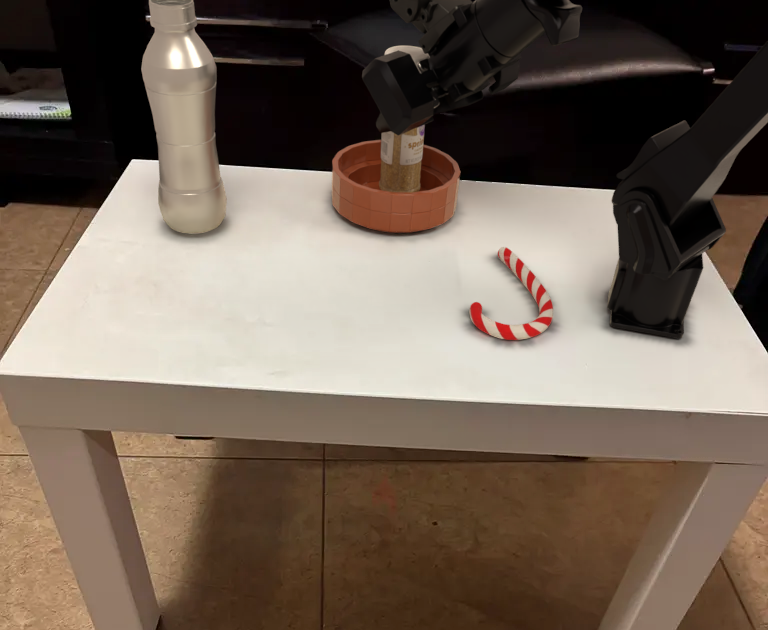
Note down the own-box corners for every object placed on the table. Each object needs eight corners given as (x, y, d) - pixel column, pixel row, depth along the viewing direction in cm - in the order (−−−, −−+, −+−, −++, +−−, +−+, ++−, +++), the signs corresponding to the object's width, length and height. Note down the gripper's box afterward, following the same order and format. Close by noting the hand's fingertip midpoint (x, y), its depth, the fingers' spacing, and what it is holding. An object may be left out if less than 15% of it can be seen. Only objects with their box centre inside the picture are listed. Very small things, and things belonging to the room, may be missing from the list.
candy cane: (536, 245, 82) (563, 331, 71) (534, 257, 83) (560, 344, 72) (459, 242, 81) (474, 328, 71) (457, 254, 82) (472, 341, 72)
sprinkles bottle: (419, 200, 87) (430, 60, 77) (375, 196, 87) (382, 56, 77) (421, 181, 90) (433, 45, 80) (379, 178, 90) (386, 41, 80)
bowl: (463, 191, 92) (469, 150, 89) (442, 246, 83) (447, 203, 80) (349, 172, 94) (351, 132, 90) (316, 225, 85) (316, 182, 81)
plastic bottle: (148, 224, 83) (113, -3, 68) (202, 204, 86) (179, -16, 72) (188, 249, 80) (161, 17, 65) (242, 227, 83) (227, 2, 69)
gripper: (512, -79, 75) (409, 28, 88) (384, -49, 65) (287, 68, 77) (569, 37, 78) (460, 125, 90) (454, 84, 67) (349, 177, 79)
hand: (393, 121), depth 84 cm, fingers closed on sprinkles bottle, 4 cm apart
